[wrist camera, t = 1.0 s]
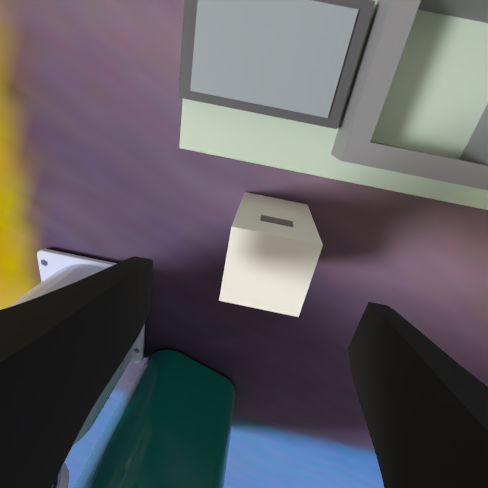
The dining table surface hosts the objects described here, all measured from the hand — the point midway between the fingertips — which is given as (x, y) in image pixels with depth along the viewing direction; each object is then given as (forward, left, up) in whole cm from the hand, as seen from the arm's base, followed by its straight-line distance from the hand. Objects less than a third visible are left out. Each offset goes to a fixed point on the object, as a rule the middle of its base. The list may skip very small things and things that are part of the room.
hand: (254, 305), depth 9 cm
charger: (-1, -1, -10) cm, 10 cm away
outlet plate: (+8, -4, -9) cm, 13 cm away
